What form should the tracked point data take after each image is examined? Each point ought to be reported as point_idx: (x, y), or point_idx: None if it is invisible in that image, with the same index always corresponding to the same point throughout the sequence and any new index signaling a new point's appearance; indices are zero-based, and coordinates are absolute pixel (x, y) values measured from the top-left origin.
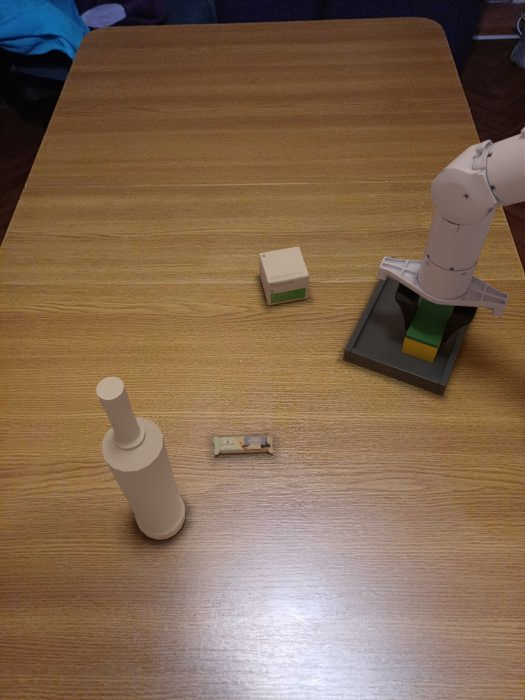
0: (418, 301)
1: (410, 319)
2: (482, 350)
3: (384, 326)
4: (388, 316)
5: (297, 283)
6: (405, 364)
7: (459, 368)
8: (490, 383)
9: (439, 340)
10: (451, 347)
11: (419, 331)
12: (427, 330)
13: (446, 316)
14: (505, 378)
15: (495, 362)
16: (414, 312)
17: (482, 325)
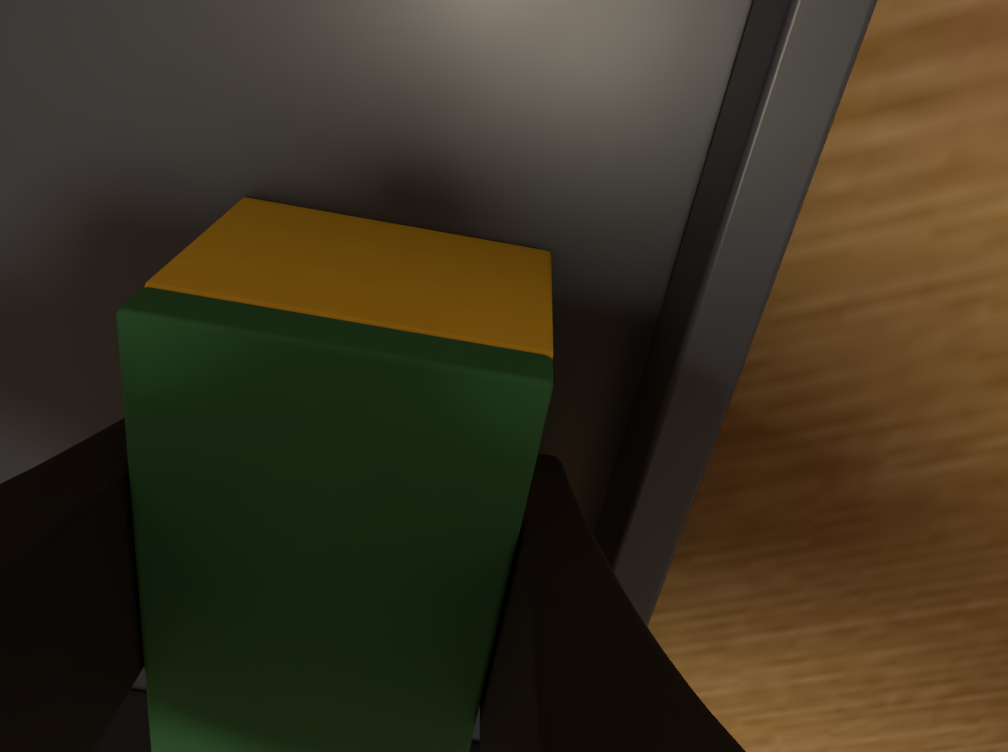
0: (73, 545)
1: (109, 711)
2: (852, 418)
3: (27, 415)
4: (6, 305)
5: None
6: None
7: (664, 585)
8: (868, 644)
9: None
10: (596, 491)
11: (254, 743)
12: (320, 730)
13: (477, 555)
14: (983, 598)
15: (939, 498)
16: (114, 619)
17: (898, 144)
